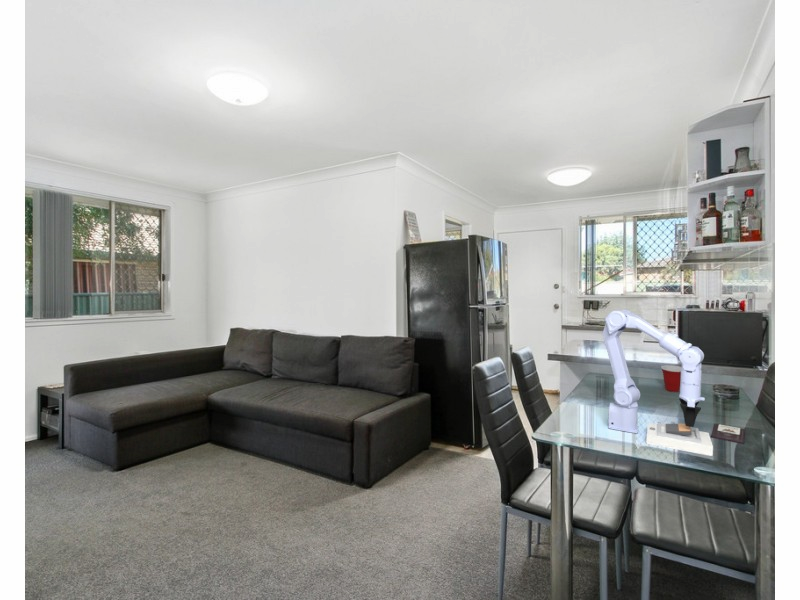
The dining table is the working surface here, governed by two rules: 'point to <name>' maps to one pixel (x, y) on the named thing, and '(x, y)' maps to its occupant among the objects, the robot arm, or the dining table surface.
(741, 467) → the dining table surface
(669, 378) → the plastic cup
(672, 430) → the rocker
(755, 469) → the dining table surface
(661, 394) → the dining table surface
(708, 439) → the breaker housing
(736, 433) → the chocolate bar
